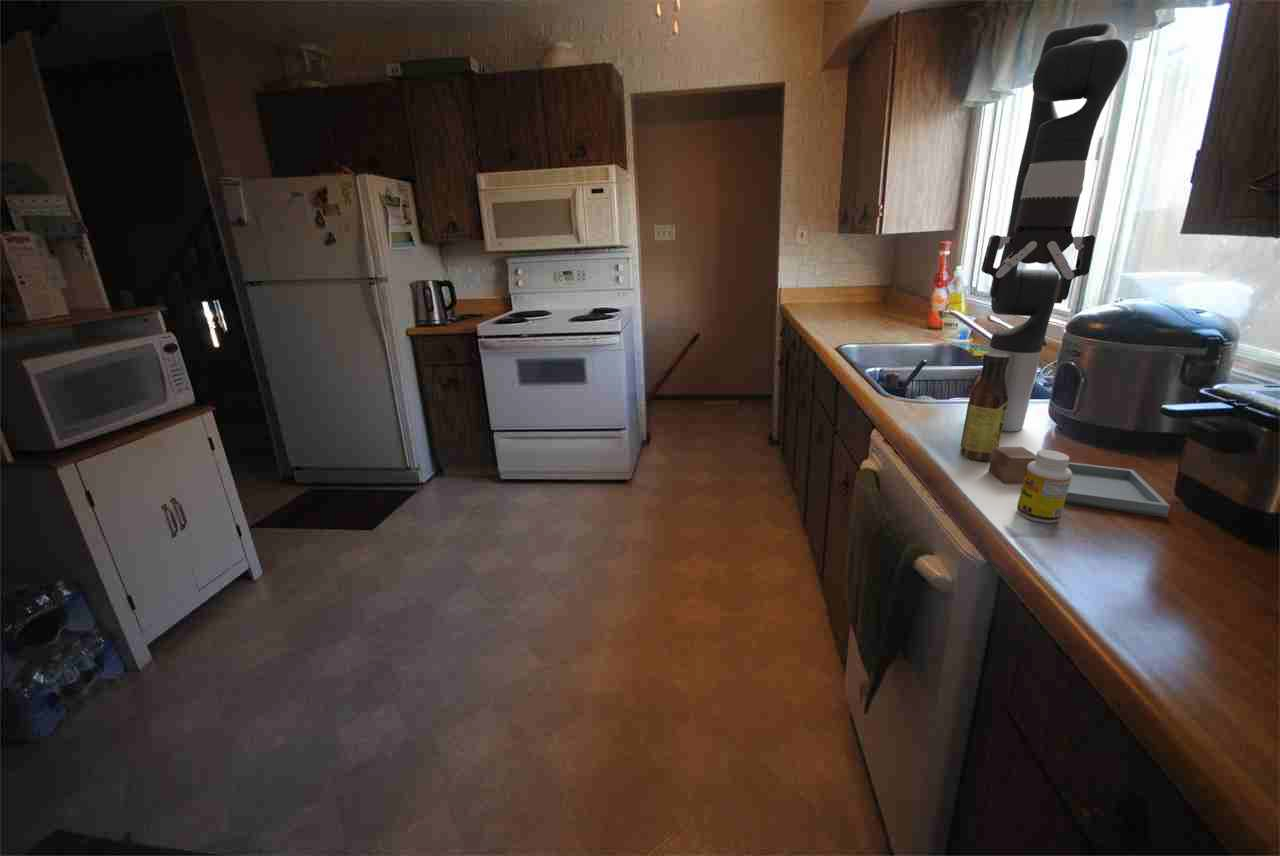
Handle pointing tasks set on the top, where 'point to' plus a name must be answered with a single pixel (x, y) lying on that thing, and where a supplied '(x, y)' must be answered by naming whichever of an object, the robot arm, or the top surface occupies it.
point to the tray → (1113, 490)
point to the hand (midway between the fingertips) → (1025, 301)
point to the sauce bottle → (986, 409)
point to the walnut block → (1010, 464)
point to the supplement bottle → (1045, 487)
